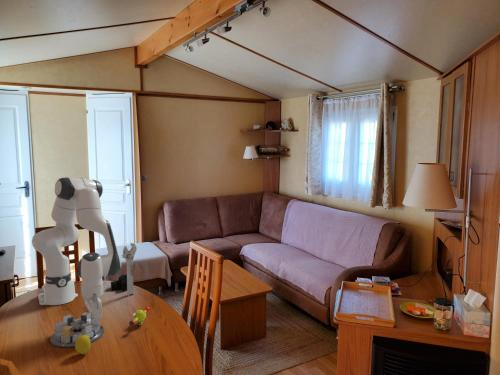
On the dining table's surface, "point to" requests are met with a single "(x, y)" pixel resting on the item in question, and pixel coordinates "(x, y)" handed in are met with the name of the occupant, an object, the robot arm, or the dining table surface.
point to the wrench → (129, 266)
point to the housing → (76, 328)
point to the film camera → (120, 283)
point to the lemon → (82, 344)
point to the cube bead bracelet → (65, 330)
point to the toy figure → (139, 316)
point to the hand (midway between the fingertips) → (93, 320)
